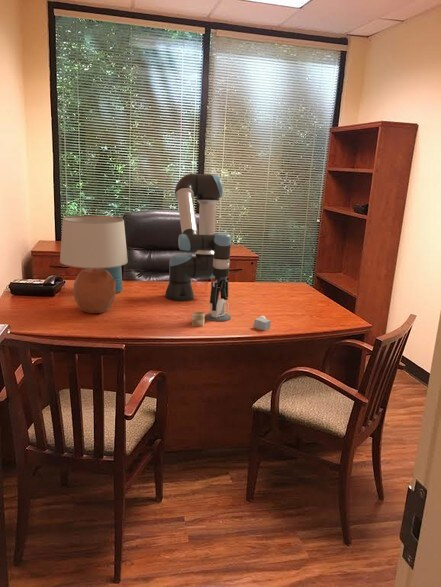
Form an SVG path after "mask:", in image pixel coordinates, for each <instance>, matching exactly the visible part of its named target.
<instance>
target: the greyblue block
mask: <svg viewBox="0 0 441 587" xmlns="http://www.w3.org/2000/svg"><path fill="white" fill-rule="evenodd" d="M271 323H272V322H271V319H267V318H266V319H264V318H259V317H257V318H255V319H254V322H253V328H254V329H259V330H261V331H264V332H265V331H269V330H270V329H271Z"/></svg>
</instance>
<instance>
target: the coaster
mask: <svg viewBox="0 0 441 587" xmlns="http://www.w3.org/2000/svg"><path fill="white" fill-rule="evenodd" d="M222 314H224V313H220V314H219V315H222ZM205 318H206V319H207V320H209V321H212V322H228V321H231V319H232V316H231V314H228V313H226V314H224V315H223V316H220V317H217V318H215V317H212V316H211V312H209V313H205Z"/></svg>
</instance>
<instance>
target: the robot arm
mask: <svg viewBox="0 0 441 587" xmlns="http://www.w3.org/2000/svg"><path fill="white" fill-rule="evenodd" d="M222 182H223V181H222V179H221V177H220V176H219V175H217V174H204V173H203V174H202V173H201V174H200V173H188V174H185V175H184V176H182V177H181V178H180V179H178V181H177V183H176V185H175V188H174V198H175V199H176V201H177V205H178V206H177V207H178V213H179V221H180V228H181V229H180V230H181V233H179V235H178V239H177V240H178V241H177V242H178V250H180V251H188V252H182V253H181V252H180V253H176V254H173V255H171V256H170V257H169V263H168V264H169V265H168V266H169V274H168V275H169V276H168V284H167V286H166V287H167V288H166V290H165V294H164V295H165V299H167V300H170V301H176V302H177V301H178V302H184V301H185V302H186V301H191V300H193V299H194V296H195V293H194V290H193V289H194V288H193V287H192V279H207V280H210V279H214V281H211V288H210V298H209V304H210V303H212V317H215V318H217V317H218V304H217V302H218V298H221V299H224V301H226V302H225V303H223V307H222V310H221V313H225V312H226V303H227V301H228V300H229V281H230V280H229V279H230V277H229V276H230V264H231V261H230V258H231V245H232V236H231V234H230V233H226V232H225V233H223V232H221V233H220V232H217V233H216V214H217V213H216V212H217V211H216V210H217V209H216V208H217V204H218V203H219V202H220V199H221V198H223V192H224V191H223V190H224V189H223V183H222ZM194 198H196V201H197V203H198V204H199V210H198V211H199V212H198V213H199V219H198V221H199V222H198V225H197V219H196V212H195V204H194ZM189 251H196V252H195V256H193V254H192V253H189Z"/></svg>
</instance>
